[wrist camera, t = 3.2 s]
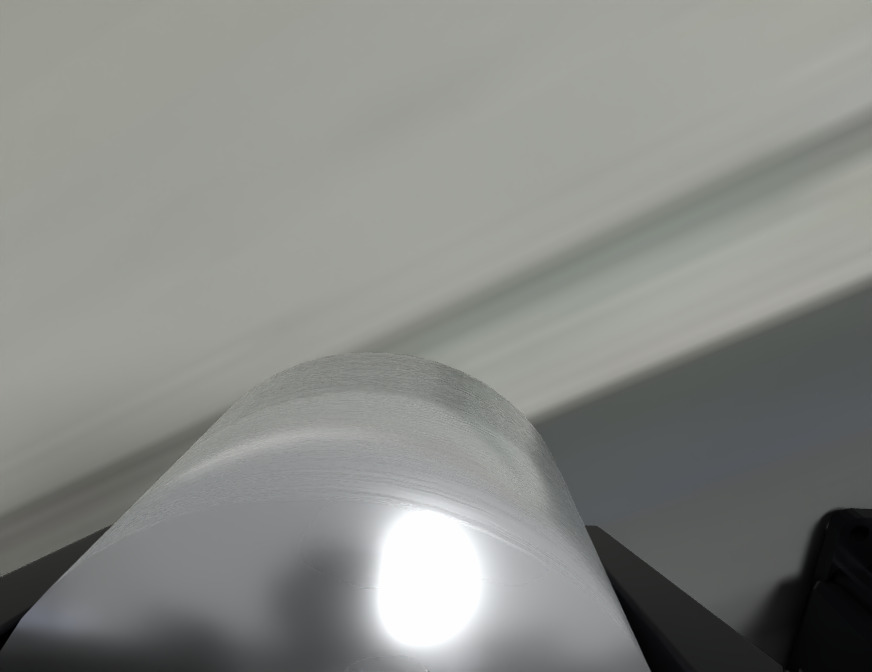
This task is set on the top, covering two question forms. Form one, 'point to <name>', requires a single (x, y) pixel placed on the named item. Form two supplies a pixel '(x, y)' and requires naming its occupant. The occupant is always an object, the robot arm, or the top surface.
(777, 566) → the top surface
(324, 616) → the silver metal cylinder
